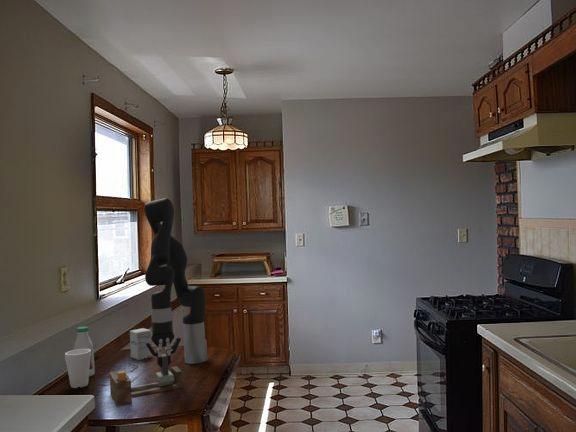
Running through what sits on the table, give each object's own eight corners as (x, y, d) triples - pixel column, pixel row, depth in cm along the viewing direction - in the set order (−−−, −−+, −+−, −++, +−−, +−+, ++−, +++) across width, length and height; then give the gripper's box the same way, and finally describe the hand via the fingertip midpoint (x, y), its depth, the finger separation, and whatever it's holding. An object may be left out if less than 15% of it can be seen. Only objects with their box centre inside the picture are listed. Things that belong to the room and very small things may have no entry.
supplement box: (130, 357, 235) (129, 330, 235) (145, 354, 240) (143, 327, 240) (137, 360, 230) (136, 332, 230) (152, 356, 235) (151, 329, 235)
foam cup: (76, 390, 190) (74, 356, 191) (61, 387, 195) (59, 353, 196) (97, 383, 199) (96, 350, 199) (82, 380, 203) (81, 347, 204)
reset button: (125, 383, 176) (124, 370, 176) (126, 385, 174) (125, 372, 174) (118, 384, 175) (117, 371, 175) (119, 386, 173) (118, 373, 173)
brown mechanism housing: (176, 381, 195) (176, 361, 195) (187, 392, 182) (186, 370, 182) (110, 394, 184) (109, 372, 184) (116, 406, 171) (115, 383, 171)
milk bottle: (78, 373, 213) (76, 326, 214) (96, 372, 214) (94, 324, 214) (71, 379, 206) (69, 329, 206) (91, 377, 206) (89, 328, 207)
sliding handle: (169, 380, 193) (168, 352, 194) (174, 384, 187) (172, 356, 187) (156, 382, 191) (155, 354, 191) (160, 387, 185) (159, 358, 185)
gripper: (177, 315, 196) (179, 360, 196) (141, 320, 190) (143, 366, 189) (182, 318, 189) (185, 365, 189) (145, 323, 183) (147, 371, 183)
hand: (164, 365), depth 189 cm, fingers closed on sliding handle, 2 cm apart
